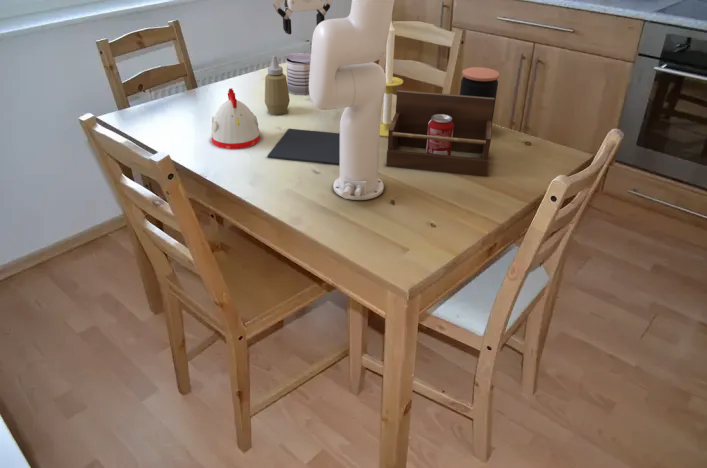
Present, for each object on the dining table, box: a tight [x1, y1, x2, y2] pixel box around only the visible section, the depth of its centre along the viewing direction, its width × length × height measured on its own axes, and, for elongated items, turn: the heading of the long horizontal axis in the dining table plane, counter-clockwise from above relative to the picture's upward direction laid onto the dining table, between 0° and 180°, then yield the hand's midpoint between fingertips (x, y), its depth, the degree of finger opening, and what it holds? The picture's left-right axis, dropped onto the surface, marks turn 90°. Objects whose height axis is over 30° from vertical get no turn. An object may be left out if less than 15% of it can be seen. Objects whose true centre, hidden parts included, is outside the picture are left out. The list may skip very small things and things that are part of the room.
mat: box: [267, 128, 340, 166], centre depth 167 cm, size 20×24×1 cm
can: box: [284, 52, 311, 96], centre depth 206 cm, size 11×11×12 cm
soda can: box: [425, 114, 454, 156], centre depth 159 cm, size 7×7×12 cm
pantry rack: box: [385, 89, 494, 177], centre depth 158 cm, size 15×26×16 cm, turn 78°
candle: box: [379, 19, 404, 138], centre depth 170 cm, size 10×10×32 cm
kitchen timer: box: [210, 87, 261, 150], centre depth 168 cm, size 14×14×15 cm
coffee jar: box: [459, 66, 500, 128], centre depth 175 cm, size 11×11×18 cm
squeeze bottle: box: [264, 55, 291, 115], centre depth 186 cm, size 8×8×18 cm
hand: (304, 31), depth 161 cm, fingers open, 9 cm apart
